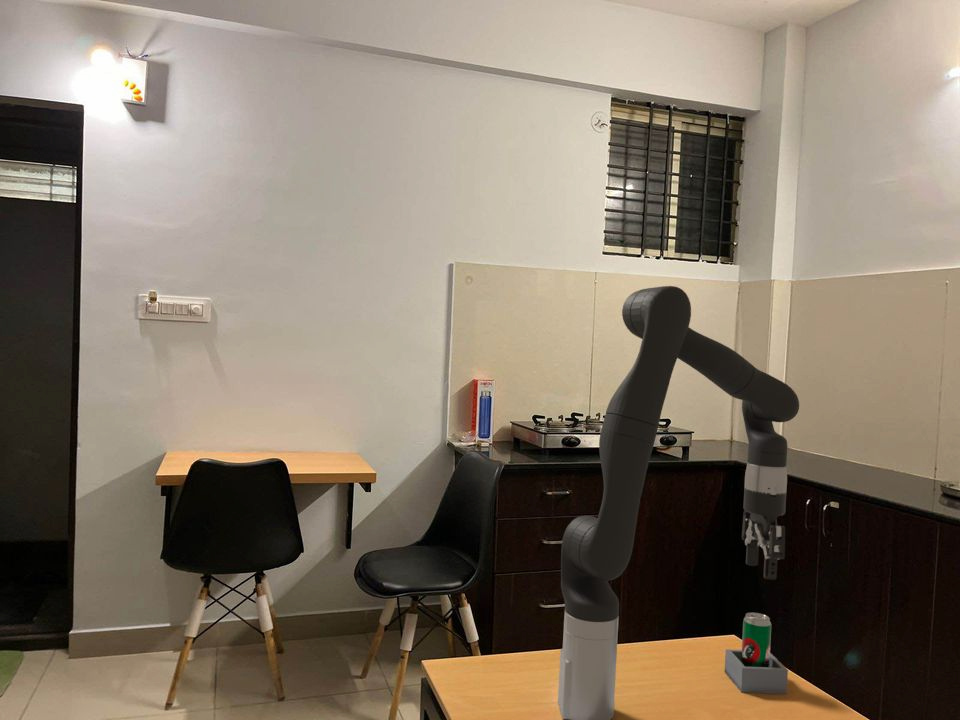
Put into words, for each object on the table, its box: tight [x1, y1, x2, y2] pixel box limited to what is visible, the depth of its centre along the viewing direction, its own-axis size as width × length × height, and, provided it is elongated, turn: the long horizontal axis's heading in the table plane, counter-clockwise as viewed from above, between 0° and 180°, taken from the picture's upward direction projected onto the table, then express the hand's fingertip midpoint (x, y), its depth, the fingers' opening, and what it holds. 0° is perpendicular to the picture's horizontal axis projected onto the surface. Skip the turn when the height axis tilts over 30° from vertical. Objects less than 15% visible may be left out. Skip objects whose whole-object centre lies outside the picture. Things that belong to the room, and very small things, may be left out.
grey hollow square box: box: [724, 648, 789, 695], centre depth 140 cm, size 9×9×4 cm
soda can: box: [741, 612, 772, 667], centre depth 140 cm, size 5×5×12 cm
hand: (760, 571), depth 140 cm, fingers open, 8 cm apart
